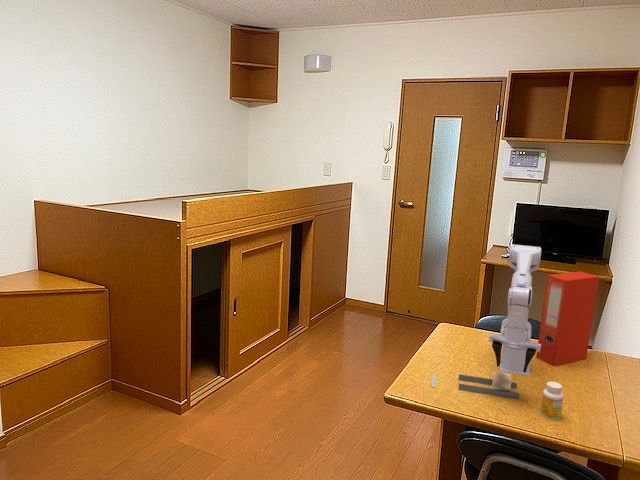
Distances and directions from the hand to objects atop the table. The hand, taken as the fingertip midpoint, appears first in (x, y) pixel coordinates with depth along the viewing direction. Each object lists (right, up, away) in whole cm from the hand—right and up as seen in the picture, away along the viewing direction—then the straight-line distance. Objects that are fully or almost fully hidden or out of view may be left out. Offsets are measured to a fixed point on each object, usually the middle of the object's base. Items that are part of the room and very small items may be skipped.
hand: (511, 368), depth 150 cm
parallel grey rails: (-5, -9, +6) cm, 12 cm away
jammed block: (-1, -9, +5) cm, 10 cm away
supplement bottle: (+8, -12, -7) cm, 16 cm away
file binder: (+31, -5, +32) cm, 45 cm away
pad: (-18, -7, +10) cm, 22 cm away
